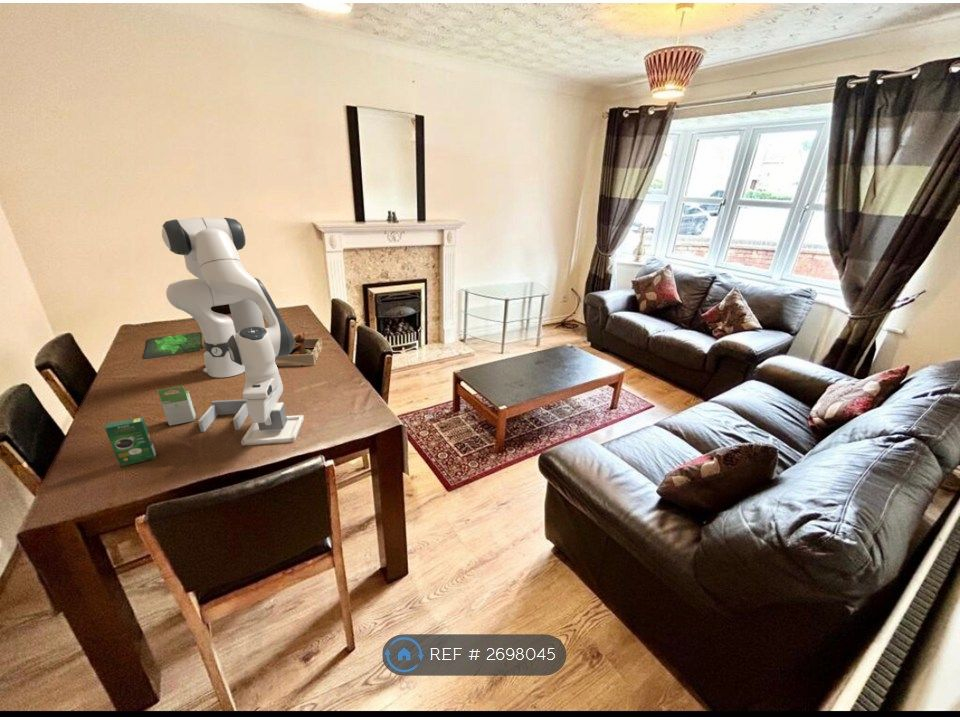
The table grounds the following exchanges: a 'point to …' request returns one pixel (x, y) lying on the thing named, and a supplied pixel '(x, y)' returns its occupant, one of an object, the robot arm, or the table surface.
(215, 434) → the table surface
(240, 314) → the cylinder vase
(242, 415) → the bay
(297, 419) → the tray
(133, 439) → the coffee box
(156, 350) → the mouse mat
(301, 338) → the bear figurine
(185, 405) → the ink box
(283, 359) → the crate
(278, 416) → the upright white block
